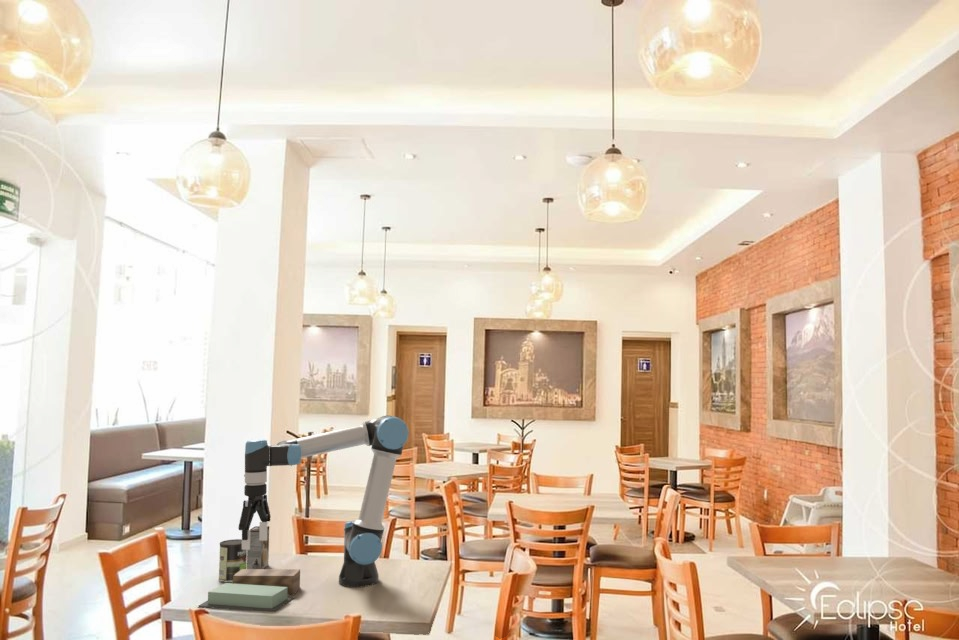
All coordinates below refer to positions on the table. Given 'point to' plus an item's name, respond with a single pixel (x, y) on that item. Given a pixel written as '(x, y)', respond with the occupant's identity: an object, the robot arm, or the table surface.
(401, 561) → the table surface
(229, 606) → the mat
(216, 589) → the lid
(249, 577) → the box
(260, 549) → the coffee box
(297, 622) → the table surface
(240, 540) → the coffee can
